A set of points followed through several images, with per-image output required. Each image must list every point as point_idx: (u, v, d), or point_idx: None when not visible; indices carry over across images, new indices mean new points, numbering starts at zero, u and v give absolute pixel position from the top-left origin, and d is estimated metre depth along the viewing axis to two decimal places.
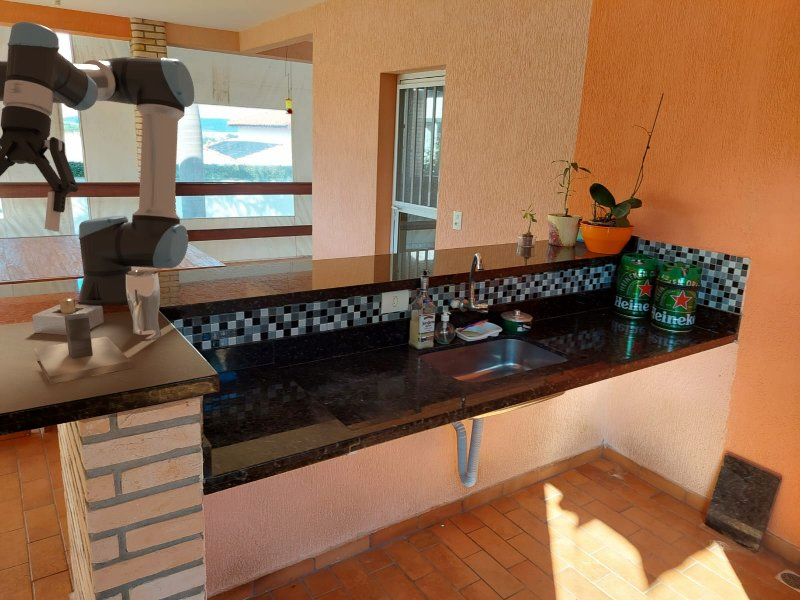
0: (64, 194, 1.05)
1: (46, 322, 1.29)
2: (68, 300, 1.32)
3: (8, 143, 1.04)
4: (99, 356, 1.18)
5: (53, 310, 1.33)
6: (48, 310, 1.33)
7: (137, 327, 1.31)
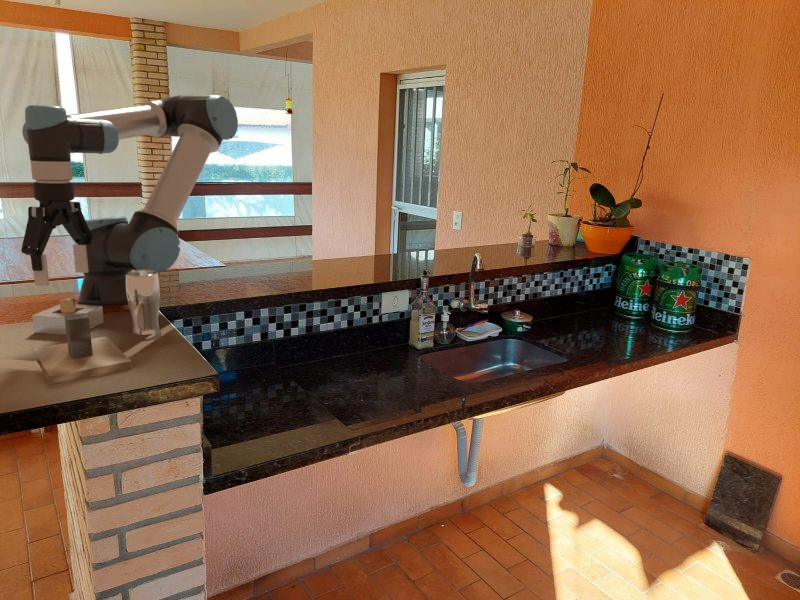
0: (34, 256, 1.21)
1: (46, 322, 1.29)
2: (68, 300, 1.32)
3: None
4: (99, 356, 1.18)
5: (53, 310, 1.33)
6: (48, 310, 1.33)
7: (137, 327, 1.31)
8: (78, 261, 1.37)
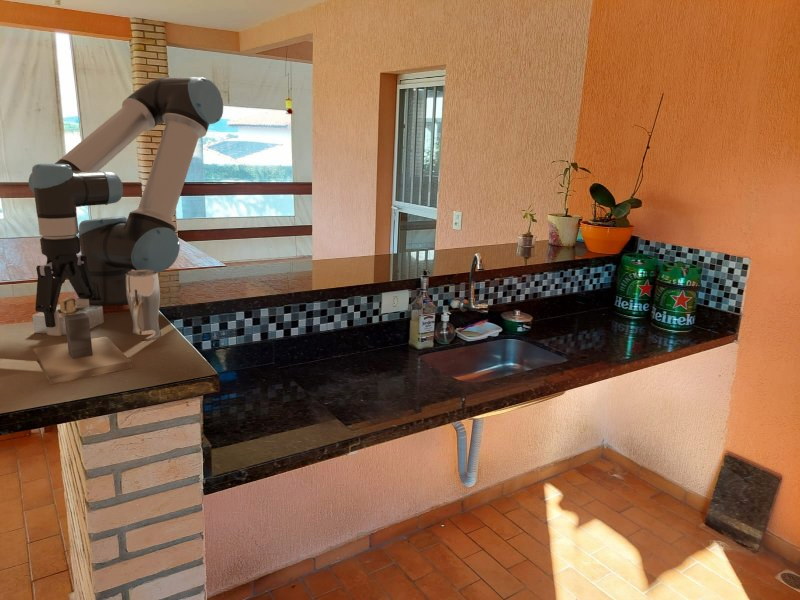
0: (47, 313, 1.26)
1: None
2: (68, 300, 1.32)
3: None
4: (99, 356, 1.18)
5: None
6: None
7: (137, 327, 1.31)
8: None
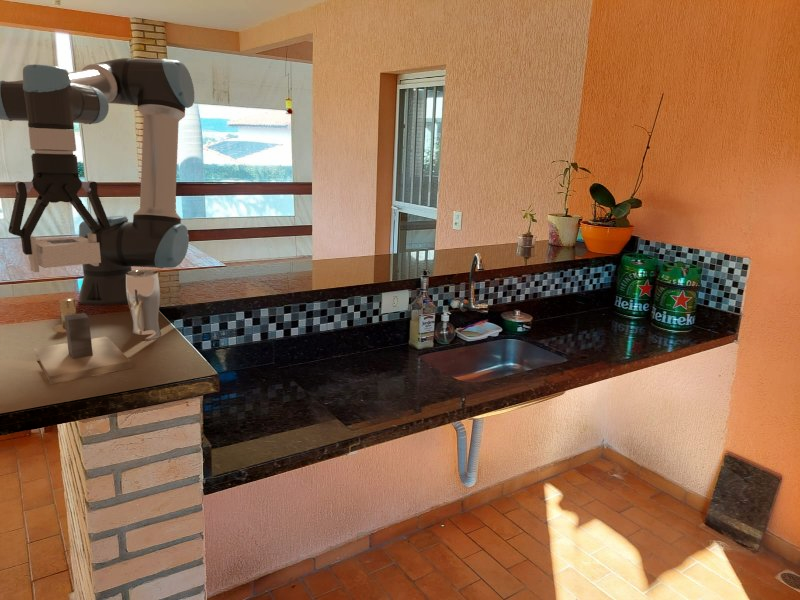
0: (21, 238, 1.10)
1: None
2: (68, 300, 1.32)
3: None
4: (99, 356, 1.18)
5: (54, 239, 1.17)
6: (51, 239, 1.18)
7: (137, 327, 1.31)
8: None
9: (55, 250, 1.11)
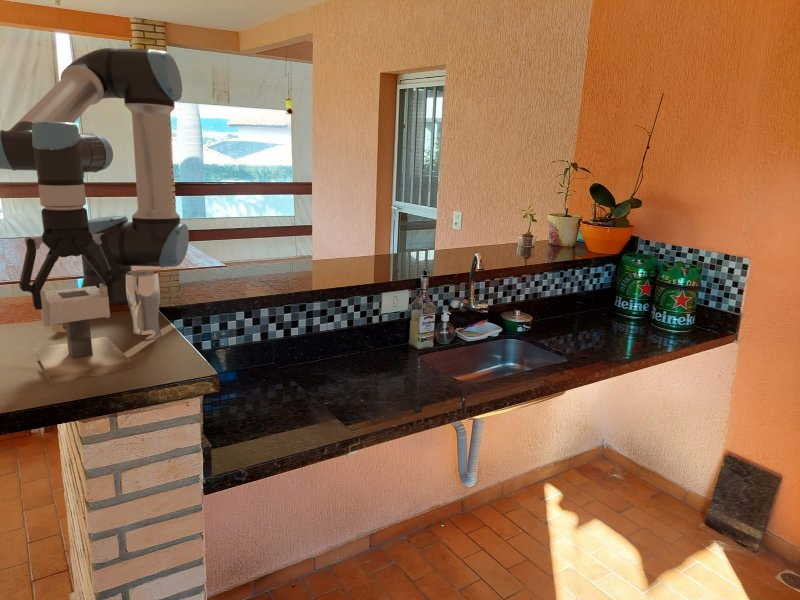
0: None
1: None
2: None
3: None
4: (99, 356, 1.18)
5: (66, 291, 1.17)
6: (64, 290, 1.18)
7: (137, 327, 1.31)
8: None
9: (63, 306, 1.10)
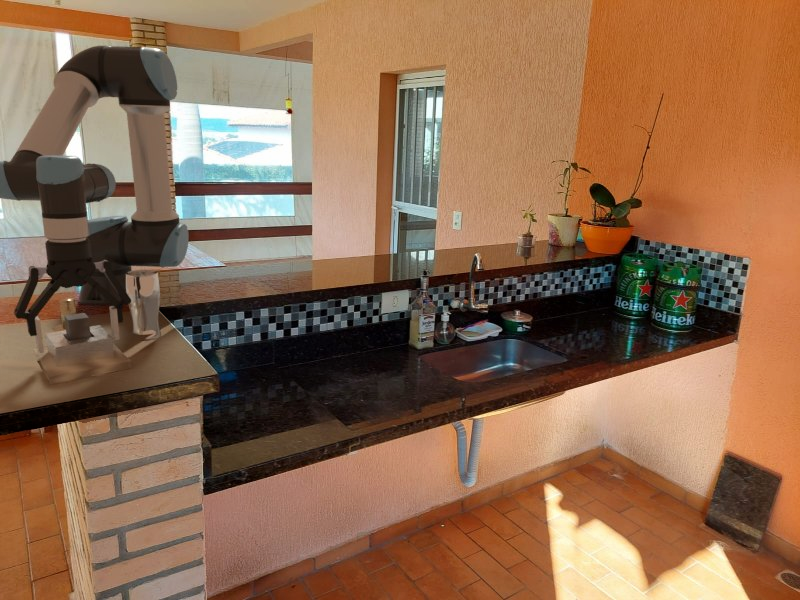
0: None
1: (49, 344, 1.16)
2: (68, 300, 1.32)
3: None
4: None
5: None
6: None
7: (137, 327, 1.31)
8: (112, 325, 1.21)
9: (68, 349, 1.12)
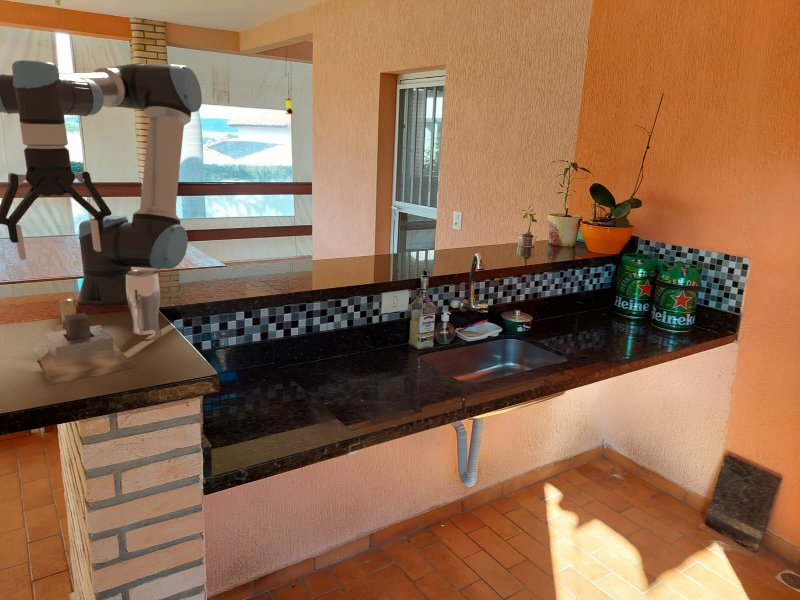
0: (7, 226, 1.13)
1: (49, 344, 1.16)
2: (68, 300, 1.32)
3: None
4: None
5: None
6: None
7: (137, 327, 1.31)
8: (93, 237, 1.24)
9: (68, 349, 1.12)
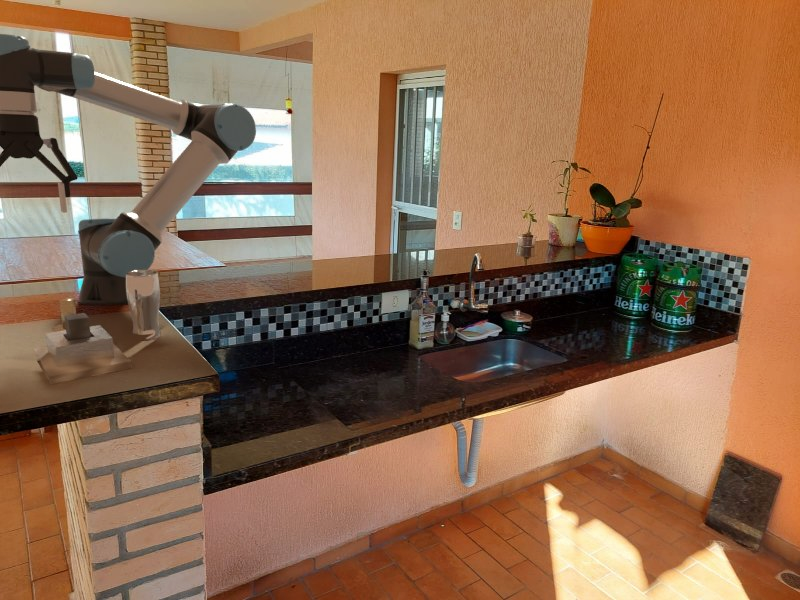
0: None
1: (49, 344, 1.16)
2: (68, 300, 1.32)
3: None
4: None
5: None
6: None
7: (137, 327, 1.31)
8: (60, 199, 1.35)
9: (68, 349, 1.12)
